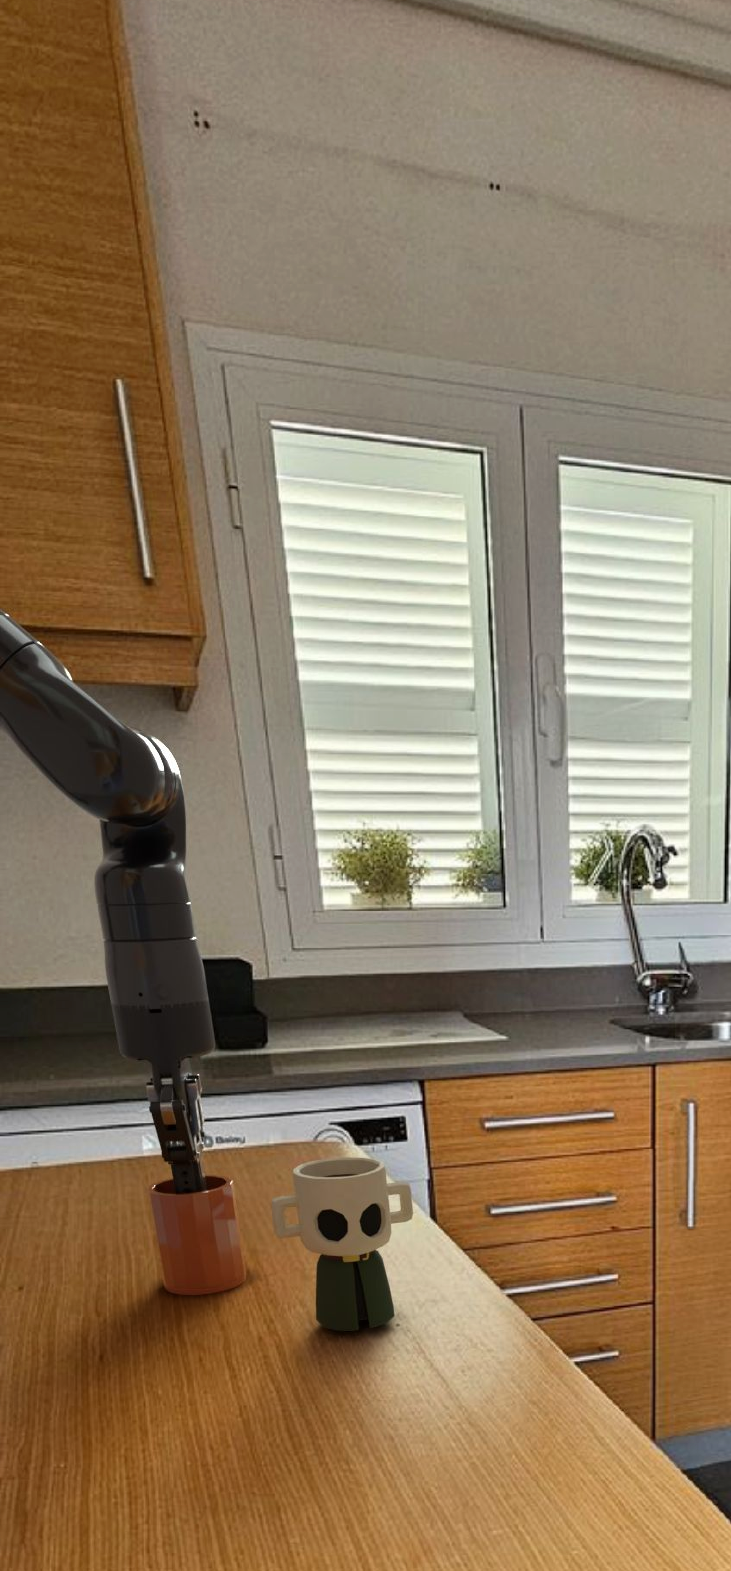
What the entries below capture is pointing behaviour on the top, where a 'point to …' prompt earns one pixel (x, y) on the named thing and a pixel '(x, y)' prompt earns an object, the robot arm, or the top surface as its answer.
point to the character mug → (345, 1235)
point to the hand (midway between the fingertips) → (193, 1200)
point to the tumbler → (197, 1237)
